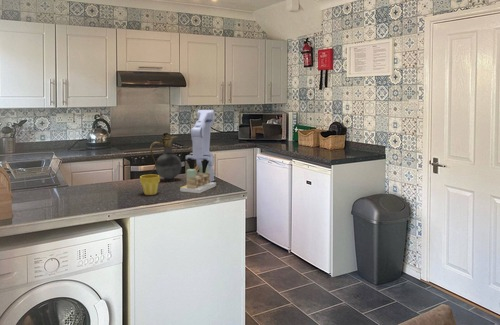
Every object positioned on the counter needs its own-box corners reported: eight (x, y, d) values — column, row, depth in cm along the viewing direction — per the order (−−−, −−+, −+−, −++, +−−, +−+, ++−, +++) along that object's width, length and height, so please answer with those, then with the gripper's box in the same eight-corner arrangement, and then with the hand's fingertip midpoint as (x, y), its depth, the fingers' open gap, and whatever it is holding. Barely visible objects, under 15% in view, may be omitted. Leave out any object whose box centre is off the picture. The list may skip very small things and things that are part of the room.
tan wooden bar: (202, 181, 252) (202, 171, 251) (210, 182, 250) (209, 172, 249) (186, 187, 235) (186, 177, 234) (194, 188, 233) (194, 178, 232)
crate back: (202, 171, 250) (202, 165, 250) (208, 172, 249) (208, 165, 248) (199, 172, 247) (199, 166, 246) (205, 173, 245) (205, 166, 245)
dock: (198, 184, 254) (198, 180, 254) (216, 185, 250) (216, 182, 249) (180, 191, 236) (180, 187, 236) (199, 193, 231) (199, 189, 231)
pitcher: (184, 180, 264) (182, 132, 259) (153, 183, 255) (151, 133, 250) (178, 177, 274) (177, 131, 269) (149, 180, 265) (147, 132, 260)
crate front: (190, 176, 238) (189, 168, 237) (196, 176, 237) (196, 169, 236) (186, 177, 234) (186, 170, 234) (193, 177, 233) (192, 170, 232)
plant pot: (139, 192, 233) (138, 174, 232) (158, 190, 237) (158, 173, 236) (141, 196, 224) (141, 178, 222) (161, 195, 228) (161, 177, 226)
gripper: (182, 148, 239) (183, 172, 241) (205, 150, 234) (206, 174, 236) (189, 147, 246) (189, 170, 248) (211, 148, 240) (211, 172, 242)
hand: (198, 172), depth 242 cm, fingers open, 7 cm apart
